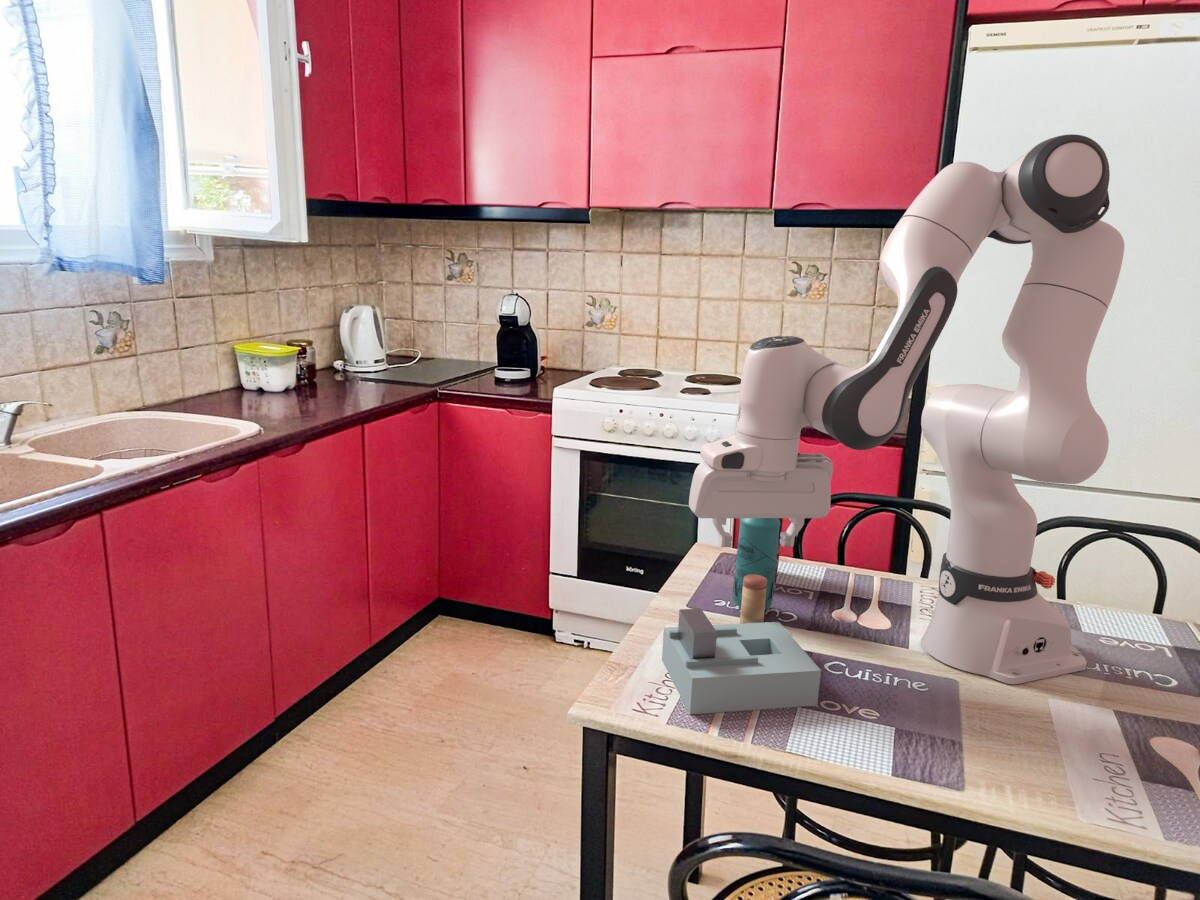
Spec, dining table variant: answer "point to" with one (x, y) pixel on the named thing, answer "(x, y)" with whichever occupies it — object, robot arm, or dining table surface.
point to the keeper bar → (697, 634)
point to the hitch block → (743, 670)
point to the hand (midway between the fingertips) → (755, 545)
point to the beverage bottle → (756, 554)
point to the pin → (753, 599)
